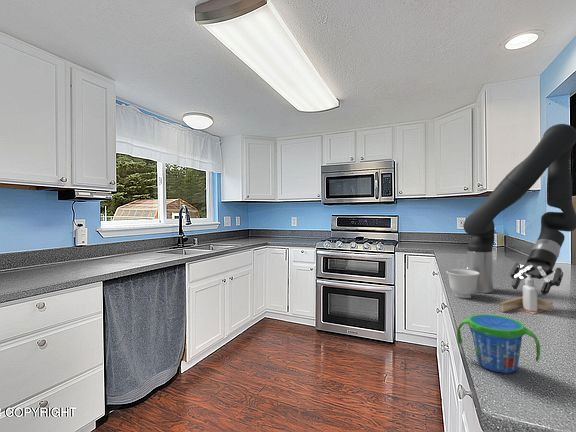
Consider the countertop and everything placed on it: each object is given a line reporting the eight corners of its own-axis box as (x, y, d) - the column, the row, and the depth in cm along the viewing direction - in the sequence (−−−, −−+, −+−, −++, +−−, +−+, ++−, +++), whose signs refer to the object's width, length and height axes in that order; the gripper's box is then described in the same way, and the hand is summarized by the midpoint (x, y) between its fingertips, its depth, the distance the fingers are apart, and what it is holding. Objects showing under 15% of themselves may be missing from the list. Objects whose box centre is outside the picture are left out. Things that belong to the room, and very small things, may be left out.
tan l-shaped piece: (499, 311, 105) (499, 302, 105) (523, 304, 112) (523, 296, 112) (528, 319, 97) (528, 309, 97) (552, 310, 104) (552, 301, 104)
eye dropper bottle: (539, 308, 106) (538, 274, 106) (536, 312, 102) (536, 277, 102) (523, 306, 109) (522, 273, 109) (520, 310, 105) (520, 275, 105)
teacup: (467, 290, 132) (467, 267, 132) (486, 300, 117) (486, 274, 117) (439, 290, 133) (438, 268, 133) (454, 300, 119) (453, 275, 118)
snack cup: (451, 362, 71) (450, 319, 71) (466, 347, 78) (465, 308, 78) (536, 389, 60) (535, 338, 59) (544, 369, 67) (543, 324, 67)
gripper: (517, 246, 115) (501, 280, 109) (565, 249, 102) (549, 288, 97) (525, 258, 117) (509, 292, 112) (572, 263, 104) (557, 302, 99)
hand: (528, 290), depth 104 cm, fingers open, 8 cm apart
